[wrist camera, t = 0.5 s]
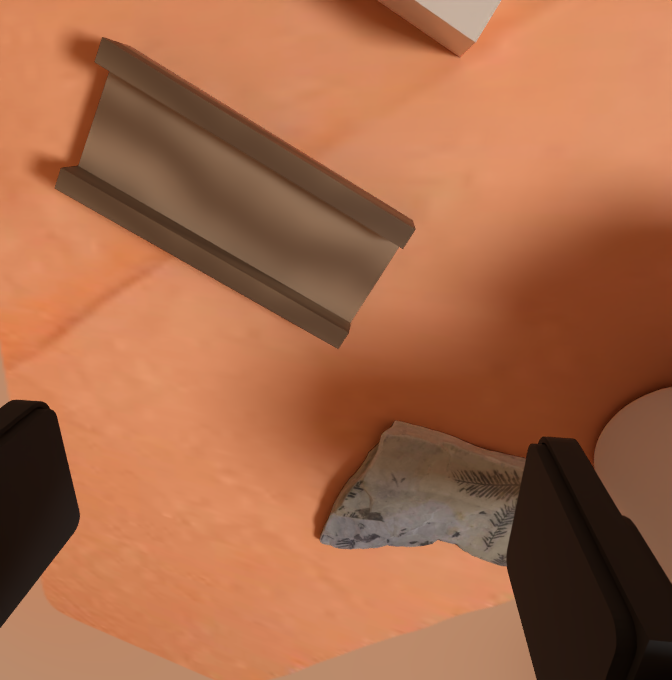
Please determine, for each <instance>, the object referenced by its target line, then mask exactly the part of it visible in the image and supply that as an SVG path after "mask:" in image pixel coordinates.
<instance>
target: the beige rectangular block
mask: <svg viewBox="0 0 672 680" xmlns="http://www.w3.org/2000/svg"><path fill="white" fill-rule="evenodd" d="M377 1H379V2H380V3H382V4H383V5H384V6H386V7H387V8H389V9H390V10H392V11H393V12H395V13H396V14H398V15H399V16H401V17H402V18H403V19H405V20H406V21H408V22H409V23H411V24H412V25H414V26H415V27H417V28H418V29H419V30H421V31H422V32H424V33H425V34H427V35H428V36H430V37H431V38H433V39H434V40H435V41H437V42H438V43H440V44H441V45H443V46H444V47H446V48H447V49H449V50H450V51H451V52H453V53H454V54H456V55H457V56H459V57H461V56H462V55H463V54H464V53H465V52H466V51H467V50H468V49H469V48H470V47H471V46H472V45H473V44H475V43H476V41H477V39H478V38H479V36H480V34H481V33H482V31H483V29H484V28H485V26H486V25H487V23H488V21H489V20H490V18H491V16H492V15H493V13H494V11H495V10H496V8H497V6H498V5H499V3H500V2H501V0H377Z"/></svg>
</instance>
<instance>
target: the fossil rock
mask: <svg viewBox="0 0 672 680" xmlns="http://www.w3.org/2000/svg"><path fill="white" fill-rule="evenodd" d="M525 461H526V458H522V457H518V456H513V455H508V454H504V453H500V452H496V451H489V450H486V449H483V448H480V447H477V446H474V445H472V444H470V443H467V442H465V441H463V440H461V439H458V438H456V437H454V436H451V435H448V434H445V433H442V432H439V431H435V430H431V429H428V428H425V427H422V426H417V425H412V424H410V423H406V422H401V421H396V420H395V421H394V423H393V425H392V426H391V428H389V429H387V430H386V431H385V432H384V433H383V434H382V435H381V438H380V441H379V443H378V444H377V445H376V446H375V447H374V448H373V449H372V450H371V451H370V452H369V453H368V455H367V458H366V459H365V461H364V462H363V464H362V466H361V467H360V468H359V469H358V470H357V472H356V473H355V474H354V475H353V476H352V477H351V478H350V479H349V480H348V482H347V483H346V485H345V486H344V488H343V489H342V491H341V492H340V494H339V496H338V497H337V499H336V501H335V502H334V505H333V508H332V510H331V513H330V515H329V518H328V520H327V522H326V524H325V526H324V528H323V531H322V533H321V536H320V542H321V543H322V544H326V545H331V546H333V547H335V548H339V549H359V548H360V549H367V548H378V547H382V546H386V545H389V546H397V547H399V546H405V547H416V546H424V545H429V544H433V543H434V542H435V541H437V540H440V541H444V542H448V543H452V544H456V545H458V546H459V547H460V548H461V549H462V550H463V551H465V552H468V553H469V554H471V555H472V556H475V557H478V558H480V559H482V560H485V561H488V562H491V563H494V564H497V565H500V566H507V562H506V554H507V547H508V542H509V538H510V533H511V528H512V523H513V519H514V514H515V509H516V504H517V499H518V495H519V490H520V485H521V480H522V476H523V471H524V466H525Z"/></svg>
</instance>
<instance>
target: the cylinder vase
mask: <svg viewBox="0 0 672 680" xmlns="http://www.w3.org/2000/svg"><path fill="white" fill-rule="evenodd" d="M594 468H595V471H596V473H597V475H598V476H599V478H600V480H601V481H602V483H603V485H604V486H605V488H606V490H607V491H608V493H609V495H610V496H611V498H612V500H613V501H614V503H615V505H616V506H617V508H618V510H619V511H620V513H621V515H624V516H626V517H628V518H630V519H631V520H632V522H633V523H634V524H635V525H636V527H637V528H638V530H639V532H640V533H641V535H642V537H643V538H644V540H645V541H646V543H647V545H648V546H649V548H650V549H651V551H652V553H653V554H654V556H655V557H656V559H657V561H658V562H659V564H660V566H661V567H662V569H663V570H664V572H665V574H666V575H667V577H668V578H669V580H670V582H671V583H672V387H668V388H664V389H660V390H657V391H654V392H651V393H649V394H646V395H644V396H642V397H640V398H638V399H636V400H634V401H633V402H631V403H630V404H628V405H627V406H625V407H624V408H623V409H621V410H620V411H619V412H618V413H617V414H616V415H615V416H614V417H613V418H612V419H611V420H610V421H609V422H608V423H607V425H606V426H605V428H604V429H603V431H602V432H601V434H600V436H599V439H598V441H597V444H596V447H595V452H594Z"/></svg>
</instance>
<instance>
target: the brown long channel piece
mask: <svg viewBox="0 0 672 680" xmlns="http://www.w3.org/2000/svg"><path fill="white" fill-rule="evenodd" d="M95 63H97V64H98V65H100V66H102V67H103V68H105V69H107V70H108V71H109V74H108V77H107V80H106V83H105V86H104V89H103V92H102V95H101V98H100V101H99V104H98V108H97V111H96V114H95V117H94V120H93V123H92V126H91V129H90V132H89V135H88V138H87V141H86V144H85V147H84V150H83V153H82V156H81V159H80V162H79V165H78V166H73V167H64V168H61V169H60V173H59V176H58V179H57V182H56V185H55V189H57V190H58V191H60V192H62V193H64V194H65V195H67V196H69V197H71V198H73V199H74V200H76V201H78V202H80V203H81V204H83V205H85V206H87V207H88V208H90V209H92V210H94V211H95V212H97V213H99V214H101V215H103V216H104V217H106V218H108V219H110V220H111V221H113V222H115V223H117V224H118V225H120V226H122V227H124V228H125V229H127V230H129V231H131V232H133V233H134V234H136V235H138V236H140V237H141V238H143V239H145V240H147V241H148V242H150V243H152V244H154V245H155V246H157V247H159V248H161V249H163V250H164V251H166V252H168V253H170V254H171V255H173V256H175V257H177V258H178V259H180V260H182V261H184V262H185V263H187V264H189V265H191V266H193V267H194V268H196V269H198V270H200V271H201V272H203V273H205V274H207V275H208V276H210V277H212V278H214V279H215V280H217V281H219V282H221V283H223V284H224V285H226V286H228V287H230V288H231V289H233V290H235V291H237V292H238V293H240V294H242V295H244V296H245V297H247V298H249V299H251V300H253V301H254V302H256V303H258V304H260V305H261V306H263V307H265V308H267V309H268V310H270V311H272V312H274V313H276V314H277V315H279V316H281V317H283V318H284V319H286V320H288V321H290V322H291V323H293V324H295V325H297V326H298V327H300V328H302V329H304V330H306V331H307V332H309V333H311V334H313V335H314V336H316V337H318V338H320V339H321V340H323V341H325V342H327V343H328V344H330V345H332V346H334V347H336V348H337V349H339V347H340V346H341V344H342V343H343V341H344V339H345V338H346V336H347V335H348V333H349V329H350V323H351V321H352V320H353V318H354V317H355V315H356V314H357V312H358V310H359V309H360V307H361V306H362V304H363V303H364V301H365V300H366V298H367V296H368V295H369V293H370V292H371V290H372V289H373V287H374V285H375V284H376V282H377V281H378V279H379V278H380V276H381V275H382V273H383V271H384V270H385V268H386V267H387V265H388V264H389V262H390V261H391V259H392V257H393V256H394V254H395V253H396V251H397V250H398V248H399V247H400V248H402V249H403V248H404V246H405V245H406V243H407V242H408V240H409V239H410V237H411V236H412V234H413V233H414V231H415V226H414V223H413V220H411V219H410V218H408V217H407V216H405V215H403V214H402V213H400V212H398V211H397V210H395V209H394V208H392V207H390V206H389V205H387V204H385V203H384V202H382V201H381V200H379V199H377V198H376V197H374V196H372V195H371V194H369V193H368V192H366V191H364V190H363V189H361V188H359V187H358V186H356V185H355V184H353V183H351V182H350V181H348V180H346V179H345V178H343V177H342V176H340V175H338V174H337V173H335V172H333V171H332V170H330V169H329V168H327V167H325V166H324V165H322V164H321V163H319V162H317V161H316V160H314V159H312V158H311V157H309V156H308V155H306V154H304V153H303V152H301V151H299V150H298V149H296V148H295V147H293V146H291V145H290V144H288V143H286V142H285V141H283V140H282V139H280V138H278V137H277V136H275V135H273V134H272V133H270V132H269V131H267V130H265V129H264V128H262V127H260V126H259V125H257V124H256V123H254V122H252V121H251V120H249V119H247V118H246V117H244V116H243V115H241V114H239V113H238V112H236V111H235V110H233V109H231V108H230V107H228V106H226V105H225V104H223V103H222V102H220V101H218V100H217V99H215V98H213V97H212V96H210V95H209V94H207V93H205V92H204V91H202V90H200V89H199V88H197V87H196V86H194V85H192V84H191V83H189V82H187V81H186V80H184V79H183V78H181V77H179V76H178V75H176V74H174V73H173V72H171V71H170V70H168V69H166V68H165V67H163V66H161V65H160V64H158V63H157V62H155V61H153V60H152V59H150V58H149V57H147V56H145V55H144V54H142V53H140V52H139V51H137V50H136V49H134V48H132V47H131V46H128V45H125V44H122V43H119V42H116V41H113V40H110V39H107V38H104V37H102V40H101V43H100V46H99V49H98V52H97V56H96V59H95Z"/></svg>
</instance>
